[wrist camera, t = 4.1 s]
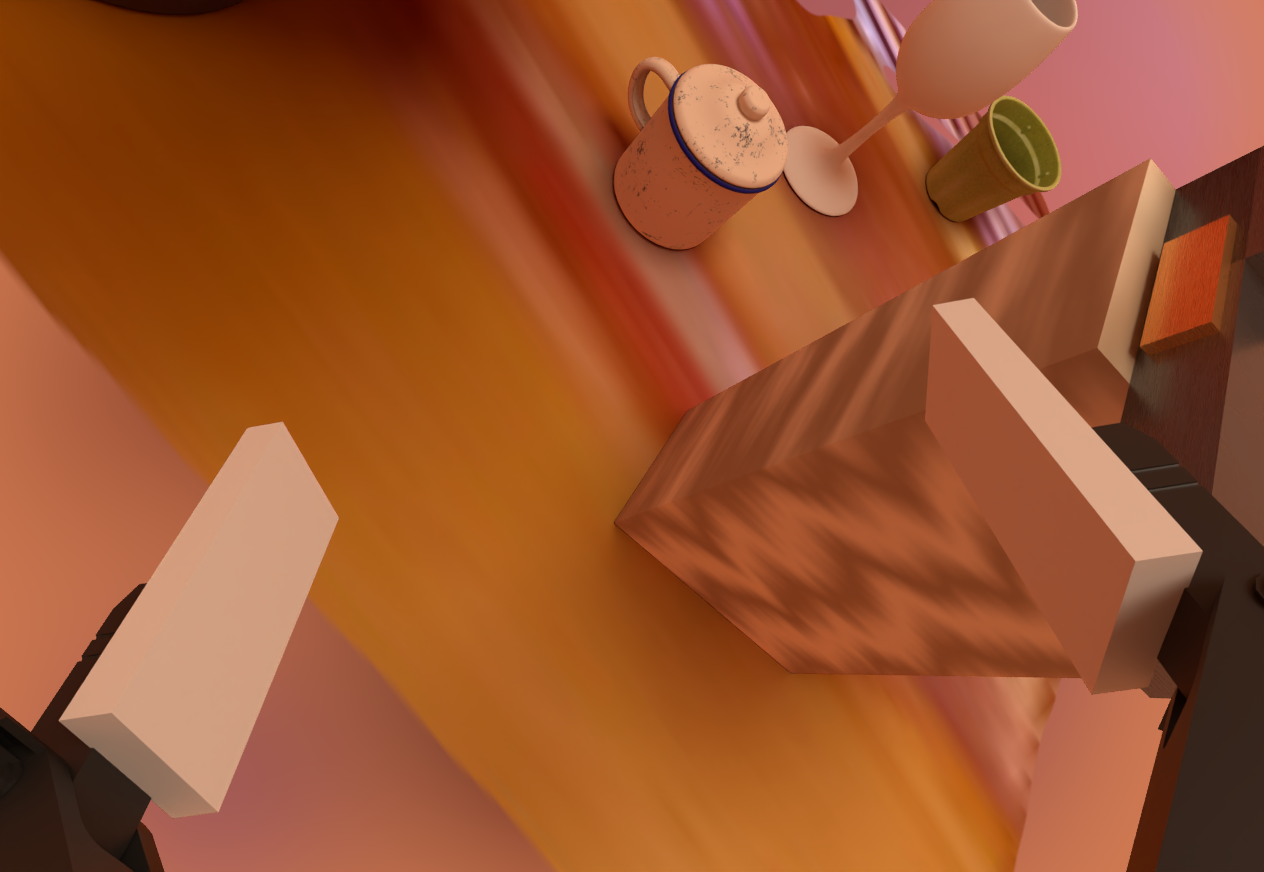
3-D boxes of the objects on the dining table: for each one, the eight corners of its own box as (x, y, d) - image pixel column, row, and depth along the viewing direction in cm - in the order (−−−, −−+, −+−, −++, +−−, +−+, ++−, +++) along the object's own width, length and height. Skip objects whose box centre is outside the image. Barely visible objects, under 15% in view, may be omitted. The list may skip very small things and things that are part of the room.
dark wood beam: (1061, 611, 17) (1307, 595, 13) (1169, 181, 26) (1333, 97, 22) (1149, 697, 17) (1408, 707, 14) (1224, 249, 26) (1393, 180, 23)
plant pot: (917, 223, 69) (1000, 171, 62) (907, 139, 72) (984, 80, 65) (984, 249, 73) (1069, 203, 66) (972, 168, 76) (1051, 116, 69)
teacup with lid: (734, 226, 58) (839, 137, 48) (659, 274, 53) (759, 185, 43) (645, 97, 57) (734, -22, 47) (560, 133, 52) (639, 9, 42)
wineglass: (761, 147, 62) (979, -62, 44) (815, 114, 66) (1031, -87, 48) (822, 232, 62) (1060, 61, 45) (870, 193, 67) (1104, 24, 49)
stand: (613, 522, 46) (1155, 326, 19) (687, 410, 51) (1199, 131, 24) (790, 673, 49) (1462, 684, 22) (843, 554, 54) (1445, 447, 27)
